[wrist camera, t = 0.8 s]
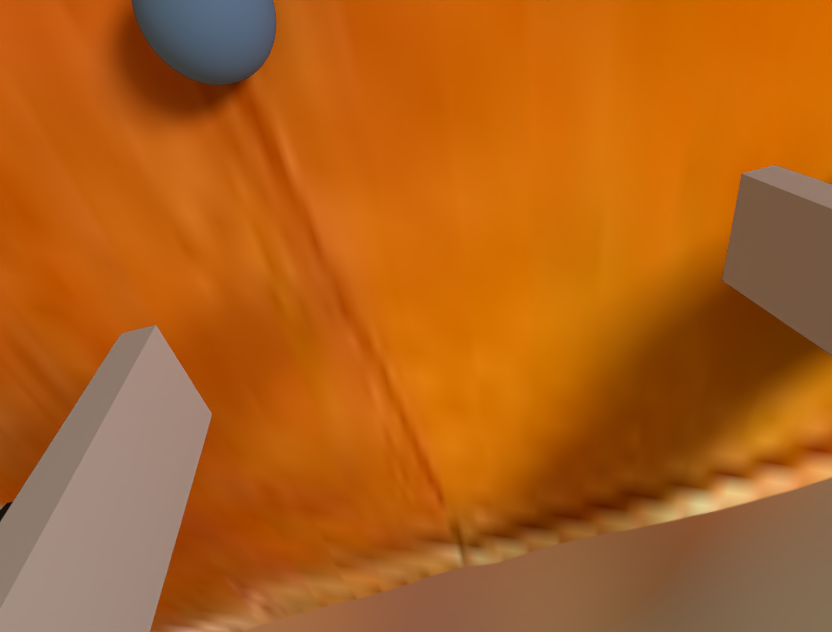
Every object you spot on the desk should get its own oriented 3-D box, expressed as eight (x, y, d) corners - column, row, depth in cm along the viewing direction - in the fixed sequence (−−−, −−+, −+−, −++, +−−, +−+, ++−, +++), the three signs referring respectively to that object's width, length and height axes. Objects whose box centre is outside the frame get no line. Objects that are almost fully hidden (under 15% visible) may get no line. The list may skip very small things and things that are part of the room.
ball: (289, -46, 23) (253, -76, 18) (288, 90, 26) (257, 98, 21) (162, -67, 23) (87, -104, 17) (175, 73, 26) (114, 77, 20)
